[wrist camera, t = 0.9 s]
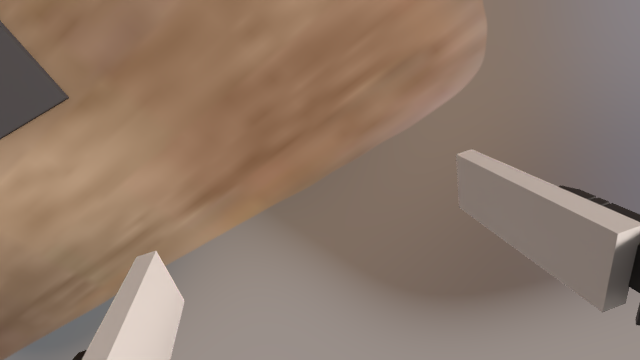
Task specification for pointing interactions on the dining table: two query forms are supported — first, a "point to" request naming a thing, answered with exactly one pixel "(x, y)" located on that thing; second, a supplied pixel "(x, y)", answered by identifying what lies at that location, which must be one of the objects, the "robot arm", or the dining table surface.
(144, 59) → the dining table surface
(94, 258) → the dining table surface
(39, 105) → the mat
